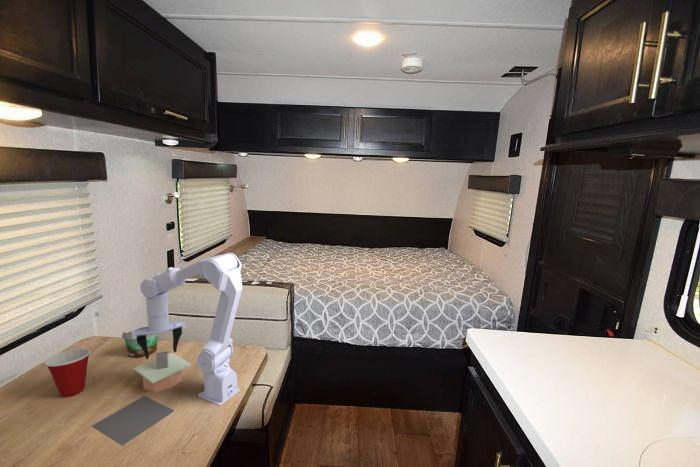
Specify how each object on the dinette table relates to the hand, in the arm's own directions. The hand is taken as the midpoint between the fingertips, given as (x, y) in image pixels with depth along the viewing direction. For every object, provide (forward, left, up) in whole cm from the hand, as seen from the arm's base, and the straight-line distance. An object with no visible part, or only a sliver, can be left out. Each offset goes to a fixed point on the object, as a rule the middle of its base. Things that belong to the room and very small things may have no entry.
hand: (161, 354), depth 105 cm
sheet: (0, 0, -5) cm, 5 cm away
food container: (+22, -8, -10) cm, 26 cm away
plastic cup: (+20, +16, -10) cm, 27 cm away
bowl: (0, 0, -10) cm, 10 cm away
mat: (-9, +15, -10) cm, 20 cm away
